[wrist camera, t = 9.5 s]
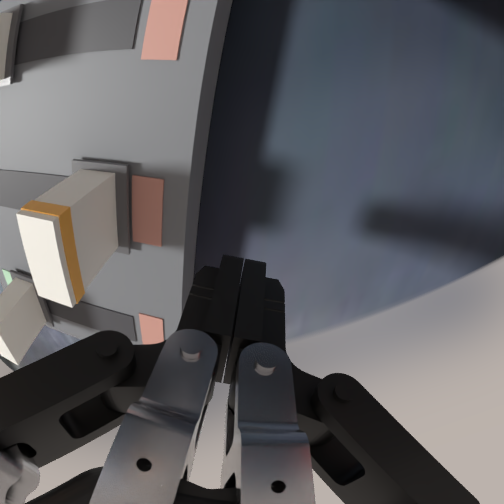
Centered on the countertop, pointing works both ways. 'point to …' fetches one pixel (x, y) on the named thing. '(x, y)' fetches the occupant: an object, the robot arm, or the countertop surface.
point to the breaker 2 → (21, 316)
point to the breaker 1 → (8, 42)
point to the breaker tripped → (76, 229)
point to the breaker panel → (115, 142)
